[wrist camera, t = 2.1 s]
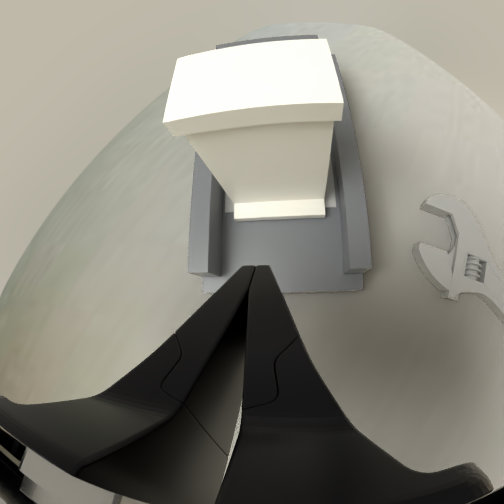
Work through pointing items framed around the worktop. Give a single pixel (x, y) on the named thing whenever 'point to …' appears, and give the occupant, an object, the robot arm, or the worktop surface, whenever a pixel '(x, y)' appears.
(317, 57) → the switch tab
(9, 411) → the robot arm
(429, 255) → the adjustable wrench
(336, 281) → the switch housing
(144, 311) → the worktop surface
